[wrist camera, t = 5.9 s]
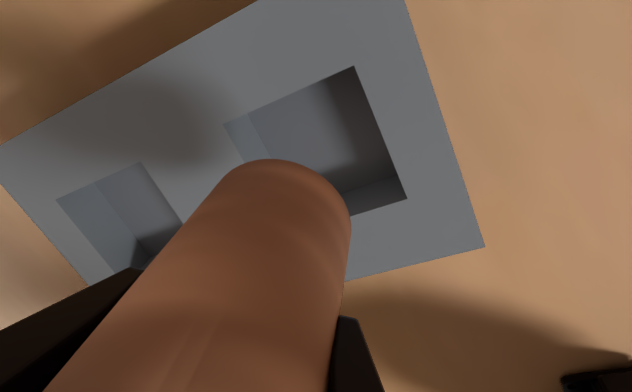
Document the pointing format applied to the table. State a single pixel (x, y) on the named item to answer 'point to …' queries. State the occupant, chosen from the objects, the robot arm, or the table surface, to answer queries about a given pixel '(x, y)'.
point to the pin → (231, 295)
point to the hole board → (253, 138)
